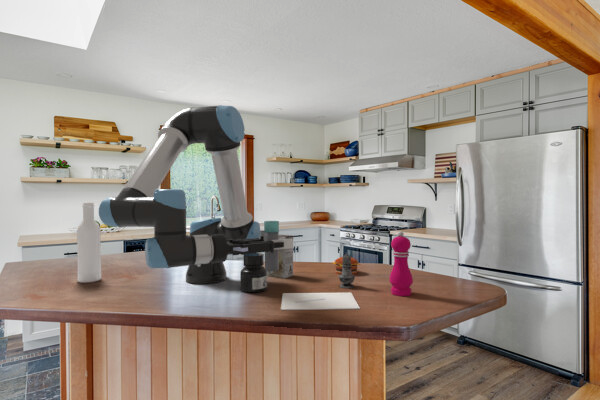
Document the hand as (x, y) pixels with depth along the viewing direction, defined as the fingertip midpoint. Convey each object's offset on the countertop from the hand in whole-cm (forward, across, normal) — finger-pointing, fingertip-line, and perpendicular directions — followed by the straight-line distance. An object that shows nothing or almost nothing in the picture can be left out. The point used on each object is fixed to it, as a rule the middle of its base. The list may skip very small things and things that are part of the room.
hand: (288, 242), depth 105 cm
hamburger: (+40, -24, -18) cm, 50 cm away
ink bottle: (-3, -20, -18) cm, 27 cm away
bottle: (-52, -66, -18) cm, 86 cm away
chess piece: (+26, -7, -18) cm, 33 cm away
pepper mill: (+36, +10, -18) cm, 41 cm away
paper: (+9, +3, -18) cm, 20 cm away
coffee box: (+14, -34, -18) cm, 41 cm away
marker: (-5, 0, -8) cm, 9 cm away
